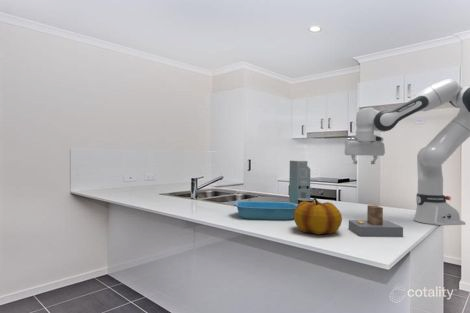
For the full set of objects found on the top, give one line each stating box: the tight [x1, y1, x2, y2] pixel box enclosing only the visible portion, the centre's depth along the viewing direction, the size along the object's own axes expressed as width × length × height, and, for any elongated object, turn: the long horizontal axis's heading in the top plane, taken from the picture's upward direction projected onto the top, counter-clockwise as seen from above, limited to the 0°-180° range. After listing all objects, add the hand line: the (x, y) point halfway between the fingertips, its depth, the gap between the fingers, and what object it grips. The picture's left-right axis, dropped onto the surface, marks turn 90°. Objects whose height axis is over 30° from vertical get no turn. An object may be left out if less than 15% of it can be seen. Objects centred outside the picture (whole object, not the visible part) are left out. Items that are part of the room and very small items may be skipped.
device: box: [288, 160, 311, 204], centre depth 186 cm, size 16×8×30 cm, turn 6°
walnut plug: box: [366, 204, 384, 225], centre depth 136 cm, size 4×6×11 cm, turn 0°
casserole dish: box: [232, 200, 298, 221], centre depth 168 cm, size 37×22×7 cm, turn 89°
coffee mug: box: [298, 198, 315, 204], centre depth 166 cm, size 12×9×10 cm
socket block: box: [348, 219, 404, 238], centre depth 136 cm, size 18×13×5 cm
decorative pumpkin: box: [293, 197, 343, 236], centre depth 137 cm, size 20×22×15 cm
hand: (364, 164), depth 164 cm, fingers open, 8 cm apart
